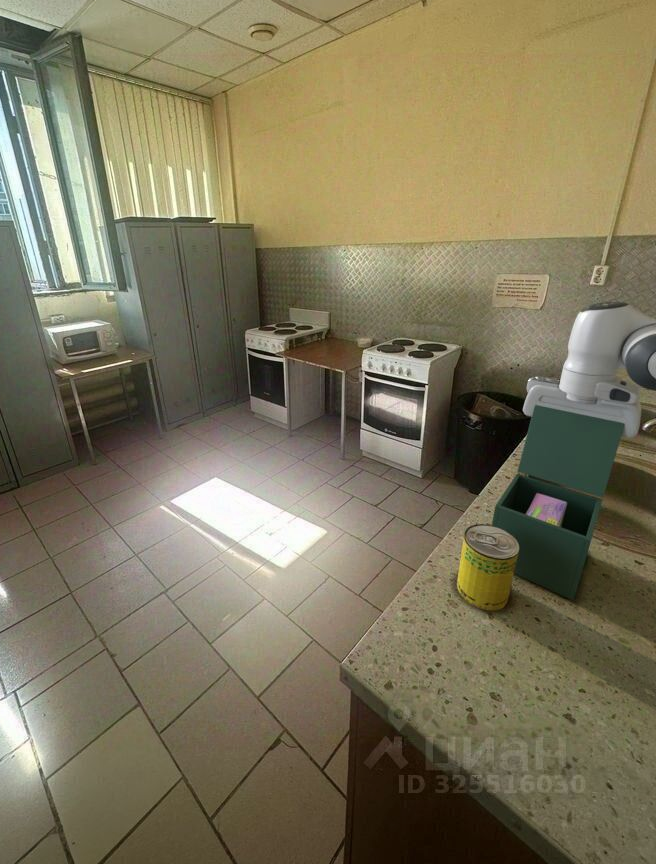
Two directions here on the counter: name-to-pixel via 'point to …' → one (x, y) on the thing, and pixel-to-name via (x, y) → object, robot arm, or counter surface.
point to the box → (547, 509)
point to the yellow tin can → (487, 566)
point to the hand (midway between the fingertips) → (570, 443)
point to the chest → (548, 533)
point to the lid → (570, 449)
